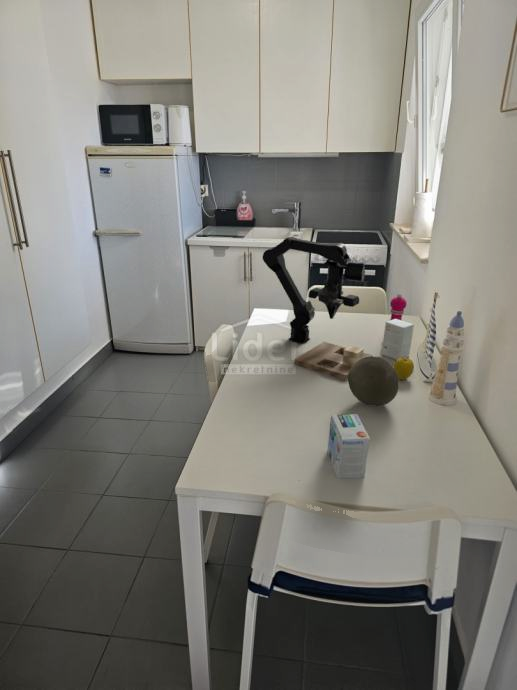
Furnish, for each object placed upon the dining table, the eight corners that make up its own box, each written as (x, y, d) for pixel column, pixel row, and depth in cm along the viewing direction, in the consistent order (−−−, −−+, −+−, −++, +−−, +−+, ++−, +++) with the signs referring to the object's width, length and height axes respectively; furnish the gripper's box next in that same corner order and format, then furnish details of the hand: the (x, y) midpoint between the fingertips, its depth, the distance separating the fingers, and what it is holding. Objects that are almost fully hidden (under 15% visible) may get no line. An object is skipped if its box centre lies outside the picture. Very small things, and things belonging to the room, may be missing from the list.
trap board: (294, 364, 159) (294, 359, 158) (323, 346, 175) (324, 341, 174) (345, 380, 148) (346, 375, 147) (371, 360, 164) (372, 355, 163)
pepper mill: (404, 340, 182) (411, 292, 174) (399, 346, 176) (406, 297, 169) (386, 336, 186) (393, 289, 178) (381, 342, 180) (387, 294, 172)
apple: (389, 380, 149) (393, 358, 146) (394, 372, 155) (397, 351, 151) (409, 384, 147) (413, 362, 144) (413, 377, 152) (417, 355, 149)
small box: (409, 357, 167) (414, 324, 162) (399, 361, 163) (404, 327, 158) (390, 350, 173) (395, 318, 168) (380, 354, 169) (385, 321, 164)
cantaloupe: (363, 388, 143) (368, 345, 138) (403, 405, 134) (411, 359, 128) (336, 404, 134) (341, 358, 128) (378, 423, 125) (385, 374, 119)
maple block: (342, 362, 156) (343, 349, 154) (349, 358, 160) (350, 345, 158) (355, 366, 154) (357, 353, 152) (362, 362, 157) (363, 348, 155)
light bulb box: (326, 451, 113) (330, 413, 109) (352, 450, 113) (357, 413, 109) (336, 479, 103) (341, 439, 99) (365, 478, 103) (371, 438, 99)
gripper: (301, 278, 165) (299, 318, 171) (348, 287, 155) (343, 329, 161) (317, 273, 173) (314, 311, 179) (362, 281, 163) (357, 321, 169)
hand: (331, 318), depth 172 cm, fingers closed
